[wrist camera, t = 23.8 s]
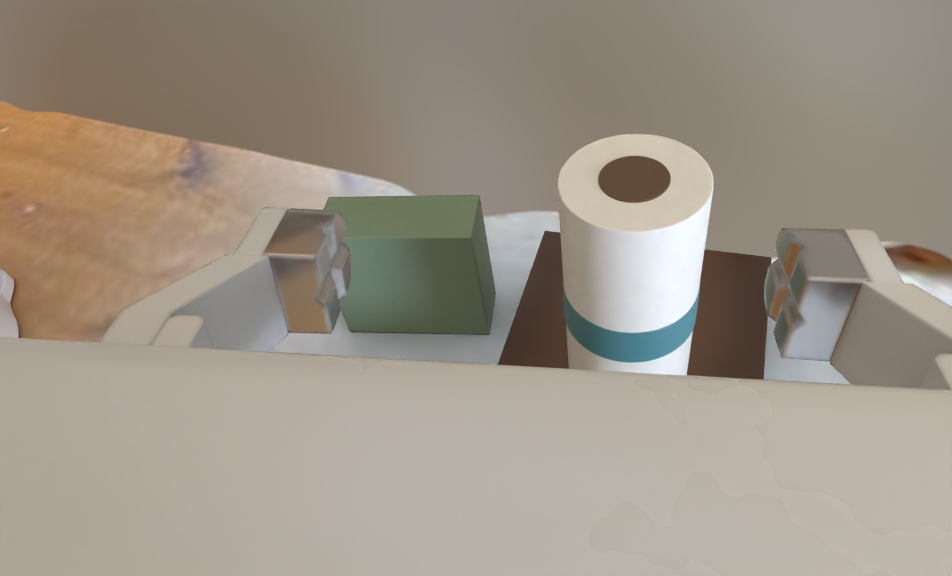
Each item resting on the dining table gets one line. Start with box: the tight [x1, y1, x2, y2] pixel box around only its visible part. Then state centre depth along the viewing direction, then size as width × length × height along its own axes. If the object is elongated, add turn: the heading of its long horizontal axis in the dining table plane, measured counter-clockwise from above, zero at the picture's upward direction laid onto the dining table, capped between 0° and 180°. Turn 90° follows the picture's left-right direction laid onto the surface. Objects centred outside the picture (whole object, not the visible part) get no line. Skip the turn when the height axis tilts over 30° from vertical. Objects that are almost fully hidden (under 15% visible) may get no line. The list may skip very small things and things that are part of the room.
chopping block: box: [498, 231, 771, 380], centre depth 38 cm, size 13×20×4 cm, turn 163°
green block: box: [324, 195, 496, 334], centre depth 43 cm, size 4×9×8 cm, turn 83°
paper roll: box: [558, 134, 714, 375], centre depth 31 cm, size 13×6×13 cm
